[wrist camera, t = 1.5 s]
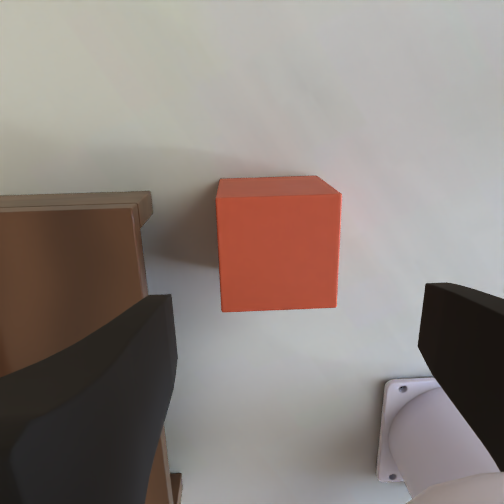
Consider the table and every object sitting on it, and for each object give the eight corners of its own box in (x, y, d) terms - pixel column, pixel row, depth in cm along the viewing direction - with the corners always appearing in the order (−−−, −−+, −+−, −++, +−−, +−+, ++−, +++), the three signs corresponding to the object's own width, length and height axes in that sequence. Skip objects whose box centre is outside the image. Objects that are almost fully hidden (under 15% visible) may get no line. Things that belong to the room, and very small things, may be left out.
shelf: (151, 190, 20) (125, 213, 15) (183, 486, 27) (172, 565, 22) (-10, 195, 20) (-86, 220, 15) (62, 493, 26) (25, 575, 22)
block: (317, 175, 20) (342, 193, 16) (314, 266, 22) (336, 308, 17) (219, 178, 20) (215, 197, 15) (224, 270, 22) (221, 312, 17)
